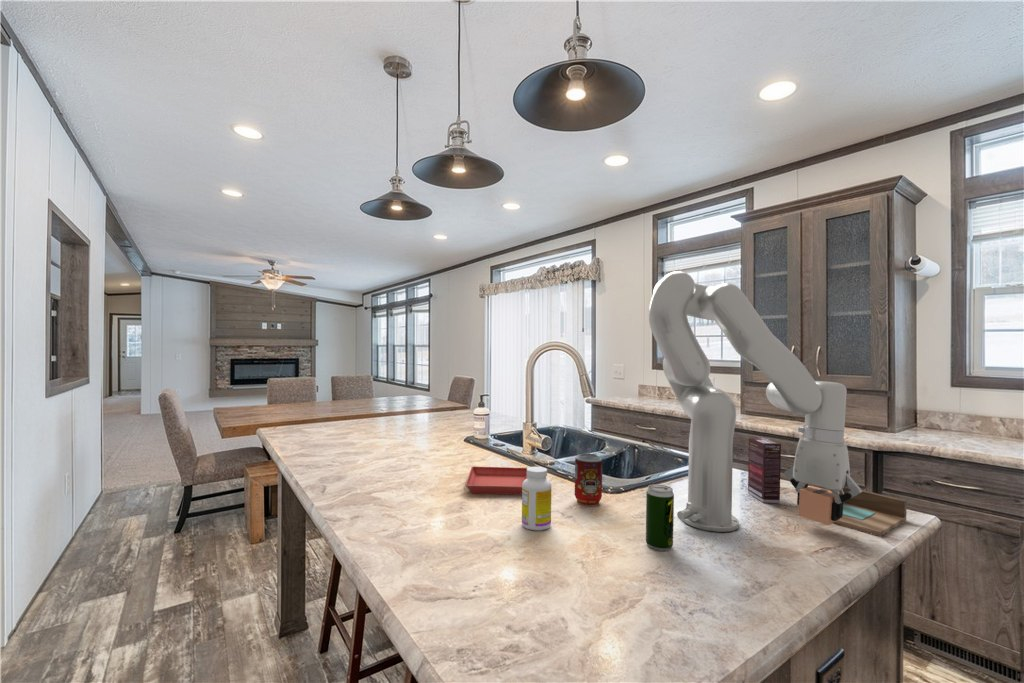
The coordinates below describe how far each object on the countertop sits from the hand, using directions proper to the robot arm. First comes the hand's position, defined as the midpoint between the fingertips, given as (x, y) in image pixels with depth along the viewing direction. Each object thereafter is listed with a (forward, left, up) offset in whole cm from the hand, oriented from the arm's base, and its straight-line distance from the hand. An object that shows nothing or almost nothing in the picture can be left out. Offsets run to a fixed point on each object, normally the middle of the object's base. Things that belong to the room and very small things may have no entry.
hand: (818, 513), depth 105 cm
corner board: (+16, -2, -4) cm, 17 cm away
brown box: (0, 0, -1) cm, 1 cm away
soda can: (-32, +41, -4) cm, 52 cm away
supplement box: (+12, +18, -4) cm, 22 cm away
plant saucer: (-44, +65, -4) cm, 79 cm away
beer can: (-38, +14, -4) cm, 41 cm away
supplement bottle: (-53, +36, -4) cm, 65 cm away
